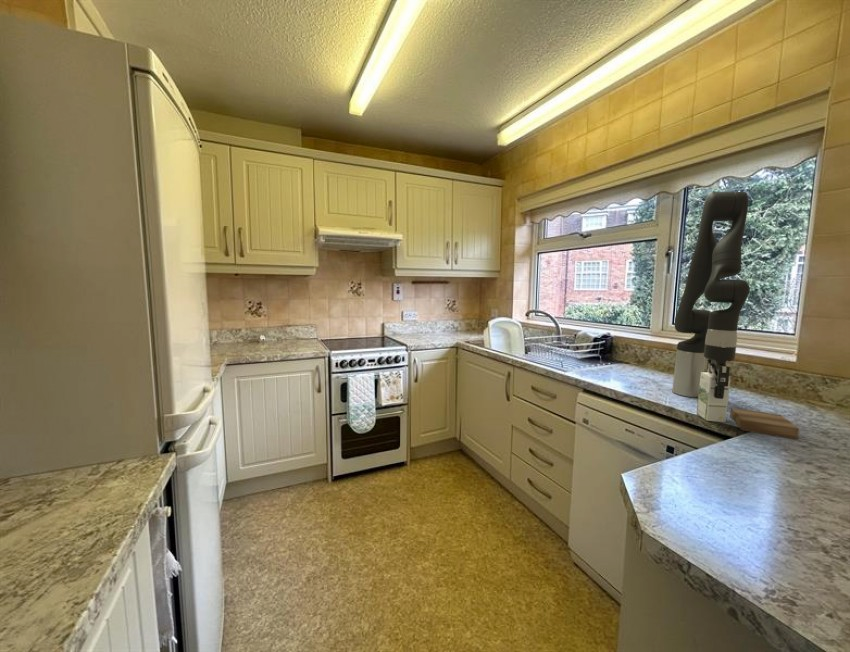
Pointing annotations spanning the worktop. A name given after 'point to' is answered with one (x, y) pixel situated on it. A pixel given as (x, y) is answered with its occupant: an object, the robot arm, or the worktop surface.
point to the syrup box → (711, 399)
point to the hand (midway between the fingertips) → (714, 394)
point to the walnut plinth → (764, 423)
